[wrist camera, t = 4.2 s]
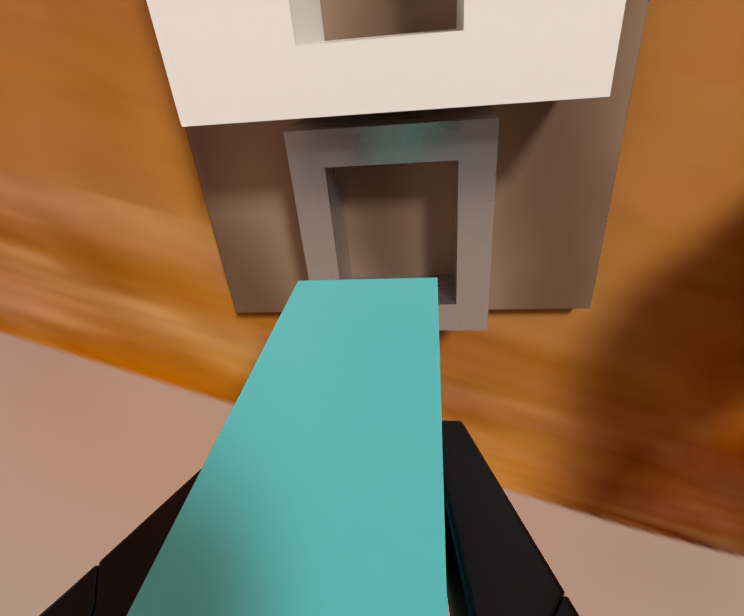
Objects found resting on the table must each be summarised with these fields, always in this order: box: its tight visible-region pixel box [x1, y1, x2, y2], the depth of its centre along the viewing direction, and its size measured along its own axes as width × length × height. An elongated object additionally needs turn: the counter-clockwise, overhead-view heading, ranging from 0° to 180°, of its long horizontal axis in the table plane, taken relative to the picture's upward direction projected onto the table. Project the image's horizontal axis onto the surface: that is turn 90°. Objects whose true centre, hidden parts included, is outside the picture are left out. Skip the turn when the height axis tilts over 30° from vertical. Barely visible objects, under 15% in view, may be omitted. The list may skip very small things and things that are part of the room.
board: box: [185, 0, 649, 313], centre depth 17 cm, size 16×18×1 cm
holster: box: [283, 105, 499, 331], centre depth 18 cm, size 7×8×2 cm
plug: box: [127, 278, 447, 616], centre depth 8 cm, size 3×4×7 cm
